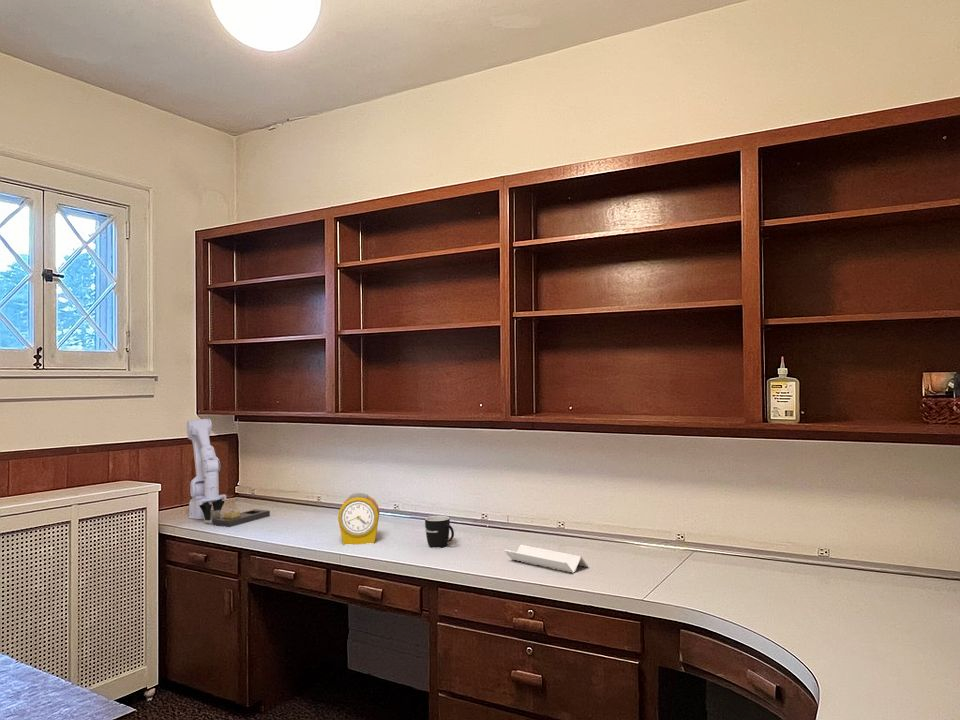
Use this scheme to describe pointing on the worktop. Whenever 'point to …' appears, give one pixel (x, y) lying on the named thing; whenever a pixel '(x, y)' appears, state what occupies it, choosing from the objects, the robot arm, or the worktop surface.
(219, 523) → the dark grey socket board
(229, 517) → the yellow block with knob
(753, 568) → the worktop surface
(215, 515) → the cube with round knob
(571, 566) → the z bracket
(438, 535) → the mug
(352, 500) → the alarm clock
